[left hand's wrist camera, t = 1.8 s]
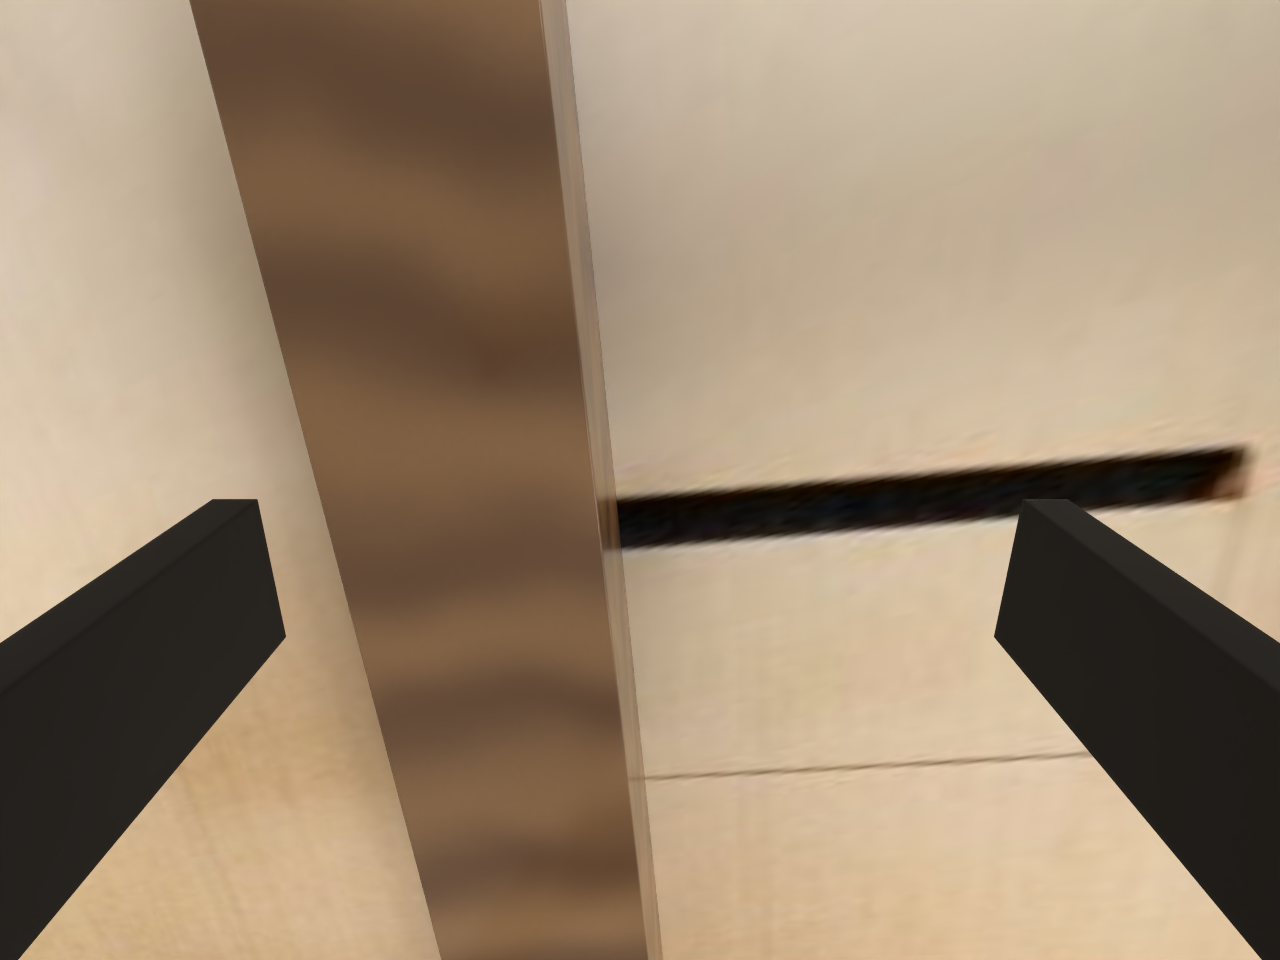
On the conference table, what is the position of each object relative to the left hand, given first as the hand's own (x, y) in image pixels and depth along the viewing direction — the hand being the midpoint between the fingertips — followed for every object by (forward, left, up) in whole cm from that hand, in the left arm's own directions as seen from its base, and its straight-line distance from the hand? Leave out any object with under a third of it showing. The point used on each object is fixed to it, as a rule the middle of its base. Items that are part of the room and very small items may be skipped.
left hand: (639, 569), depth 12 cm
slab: (+18, +6, -17) cm, 25 cm away
